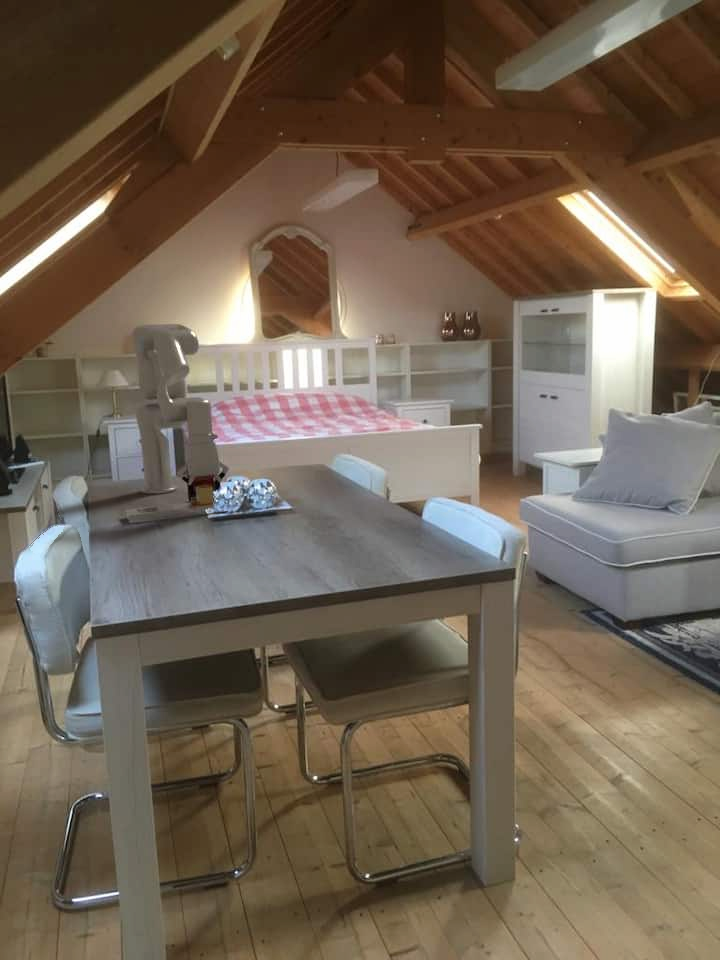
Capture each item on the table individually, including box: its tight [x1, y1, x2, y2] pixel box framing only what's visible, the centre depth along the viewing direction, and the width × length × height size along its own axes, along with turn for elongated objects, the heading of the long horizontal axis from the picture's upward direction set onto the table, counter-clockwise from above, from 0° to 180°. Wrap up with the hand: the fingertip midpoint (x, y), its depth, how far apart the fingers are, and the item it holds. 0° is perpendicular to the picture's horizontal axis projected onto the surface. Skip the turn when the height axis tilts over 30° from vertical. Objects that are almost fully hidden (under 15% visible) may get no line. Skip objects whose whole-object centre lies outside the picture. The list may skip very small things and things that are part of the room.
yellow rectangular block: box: [196, 485, 214, 506], centre depth 256 cm, size 4×4×8 cm
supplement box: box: [186, 473, 215, 502], centre depth 270 cm, size 9×5×16 cm, turn 108°
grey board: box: [125, 501, 214, 524], centre depth 253 cm, size 9×30×3 cm, turn 113°
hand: (204, 494), depth 255 cm, fingers open, 7 cm apart
